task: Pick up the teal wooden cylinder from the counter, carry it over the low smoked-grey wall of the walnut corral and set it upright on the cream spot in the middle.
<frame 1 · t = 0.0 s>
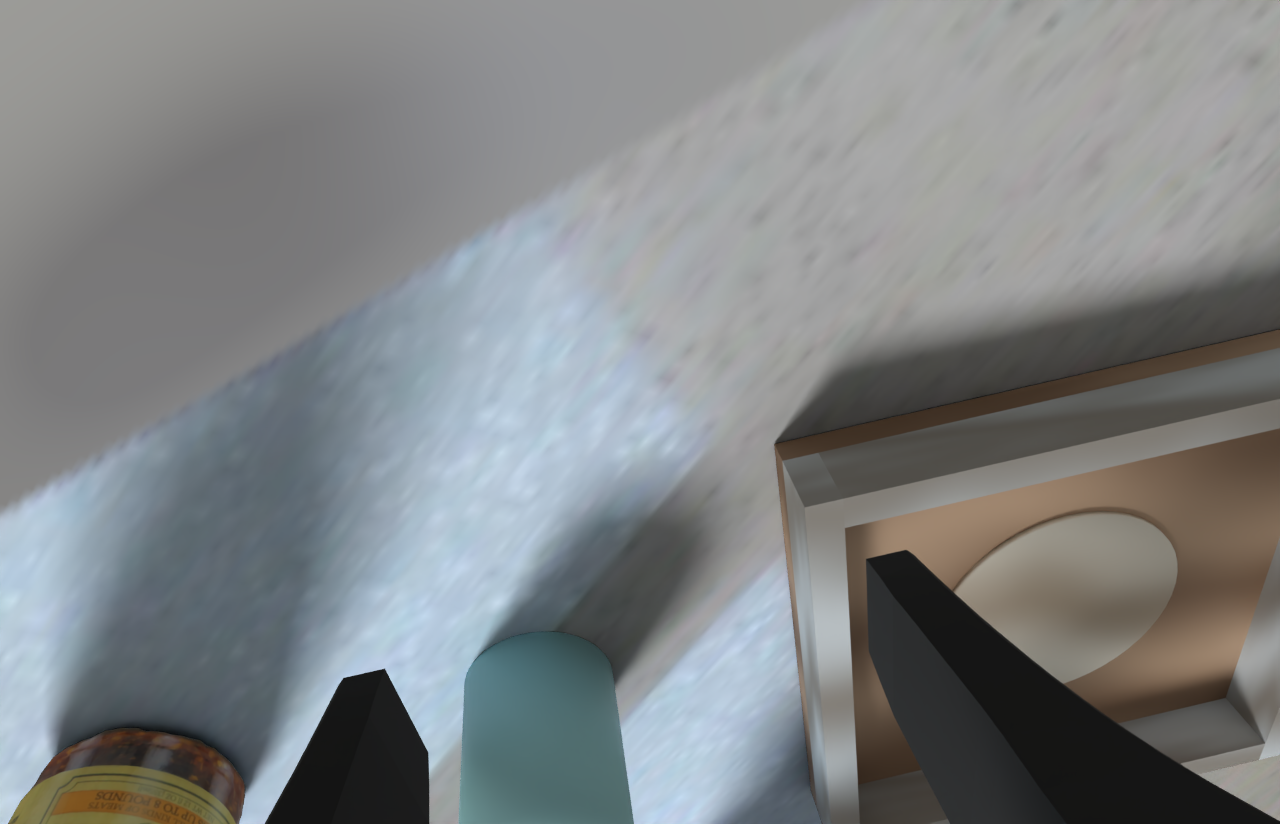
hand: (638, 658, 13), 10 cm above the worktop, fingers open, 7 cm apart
sauce bottle: (147, 770, 27), on the worktop
corral: (1041, 589, 28), on the worktop
teal cylinder: (539, 683, 28), on the worktop
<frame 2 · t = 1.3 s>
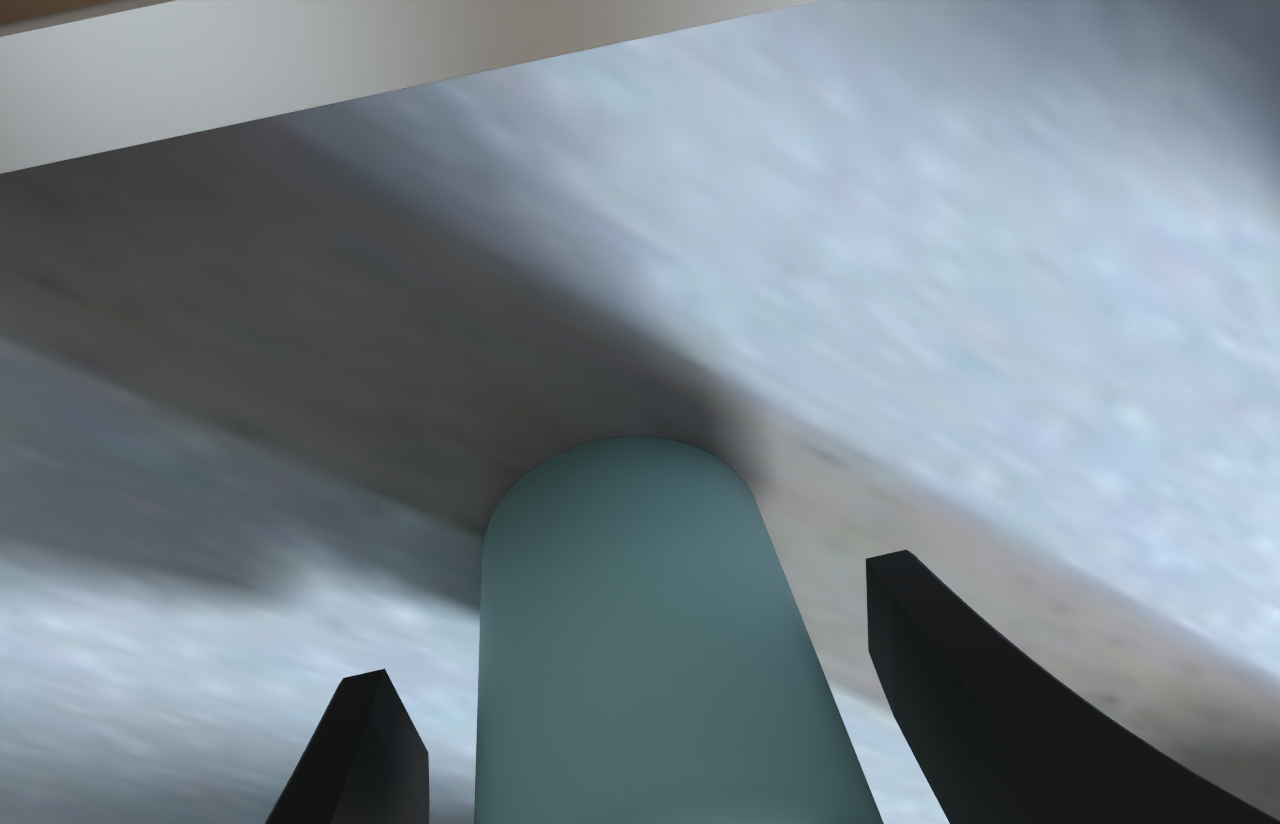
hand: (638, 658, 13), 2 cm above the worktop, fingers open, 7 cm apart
teal cylinder: (624, 552, 14), on the worktop
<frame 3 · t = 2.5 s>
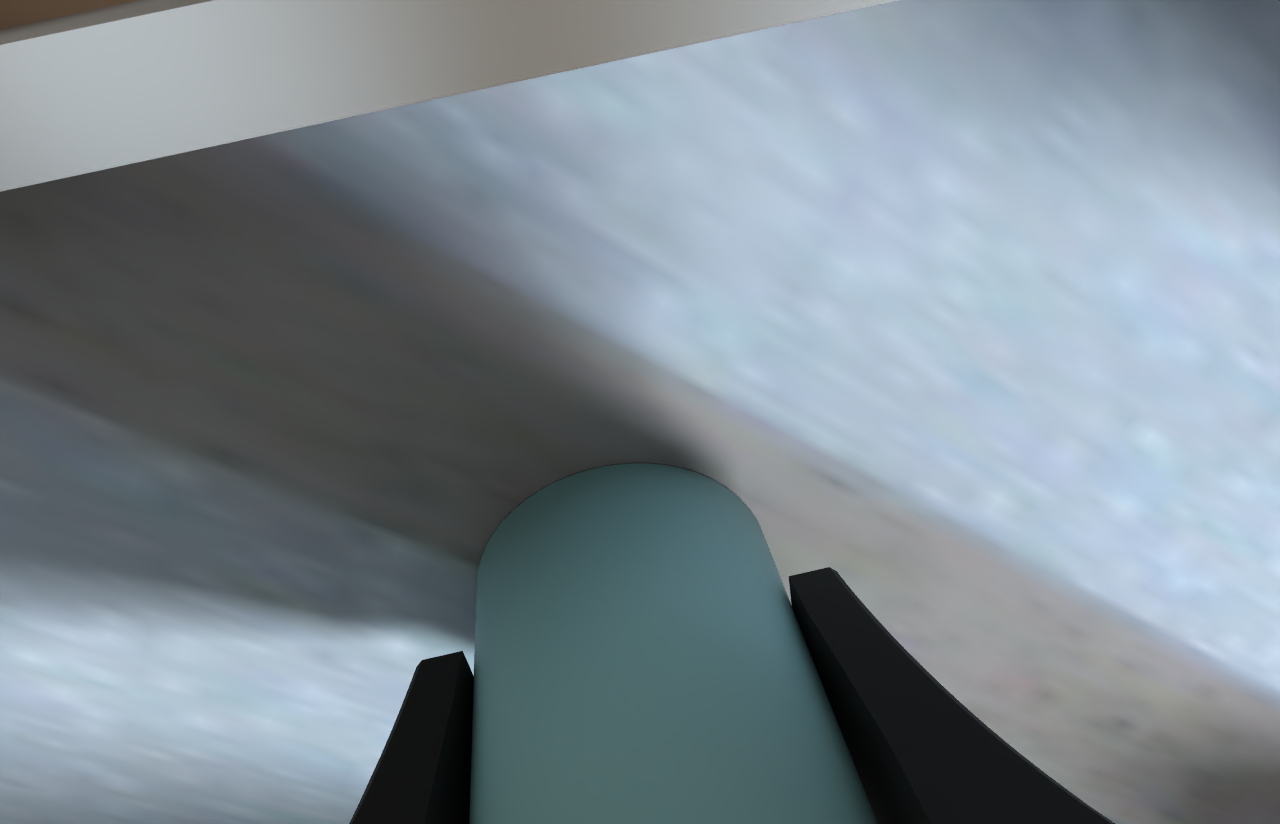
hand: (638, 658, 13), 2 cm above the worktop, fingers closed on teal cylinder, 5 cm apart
teal cylinder: (624, 581, 14), on the worktop, touching gripper
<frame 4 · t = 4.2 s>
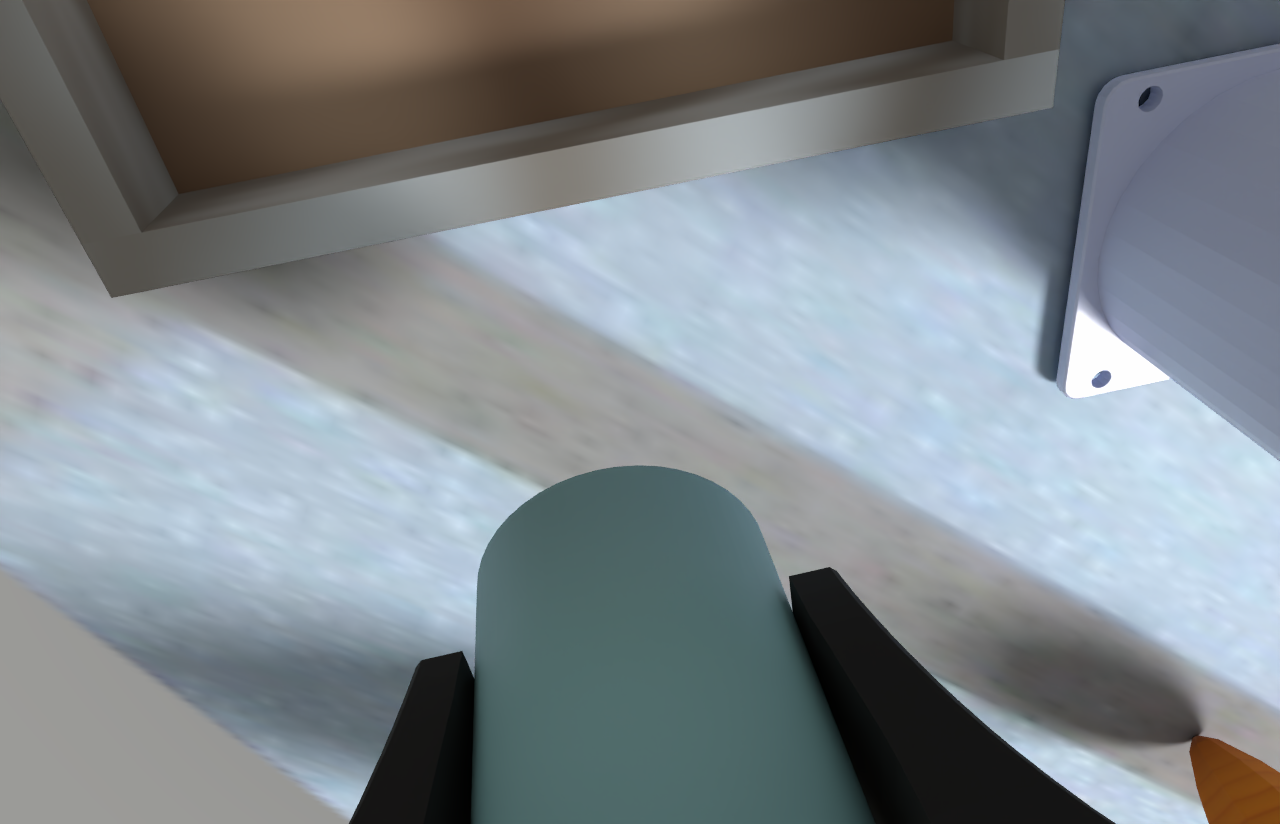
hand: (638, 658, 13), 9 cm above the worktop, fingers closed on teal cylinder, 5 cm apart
teal cylinder: (624, 582, 14), point 7 cm above the worktop, touching gripper
carrot: (1192, 733, 33), on the worktop
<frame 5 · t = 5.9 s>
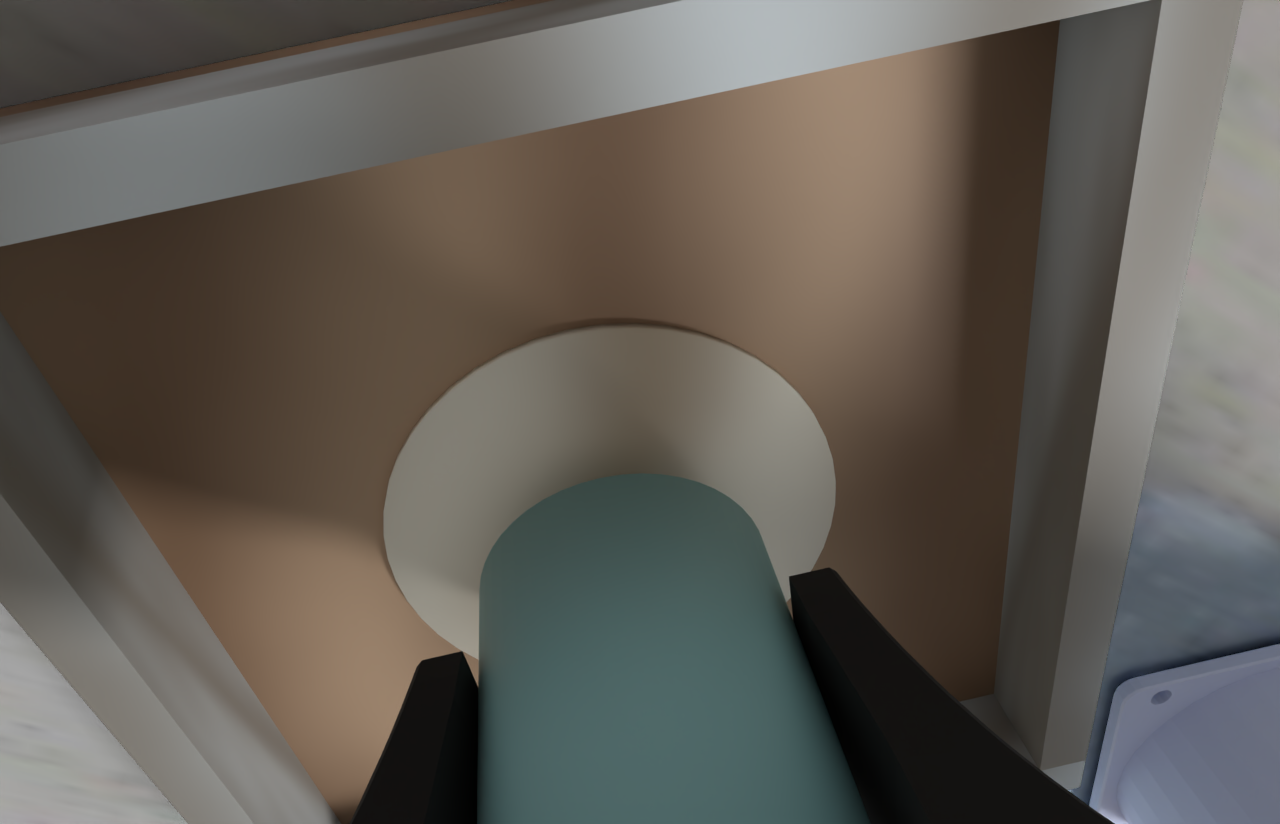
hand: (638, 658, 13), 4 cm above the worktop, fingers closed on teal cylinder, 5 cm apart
corral: (610, 495, 16), on the worktop
teal cylinder: (625, 586, 14), point 2 cm above the worktop, touching gripper
when the fingers open (4 cm above the worktop, at t = 6.9 s): teal cylinder stays where it is, resting on corral.
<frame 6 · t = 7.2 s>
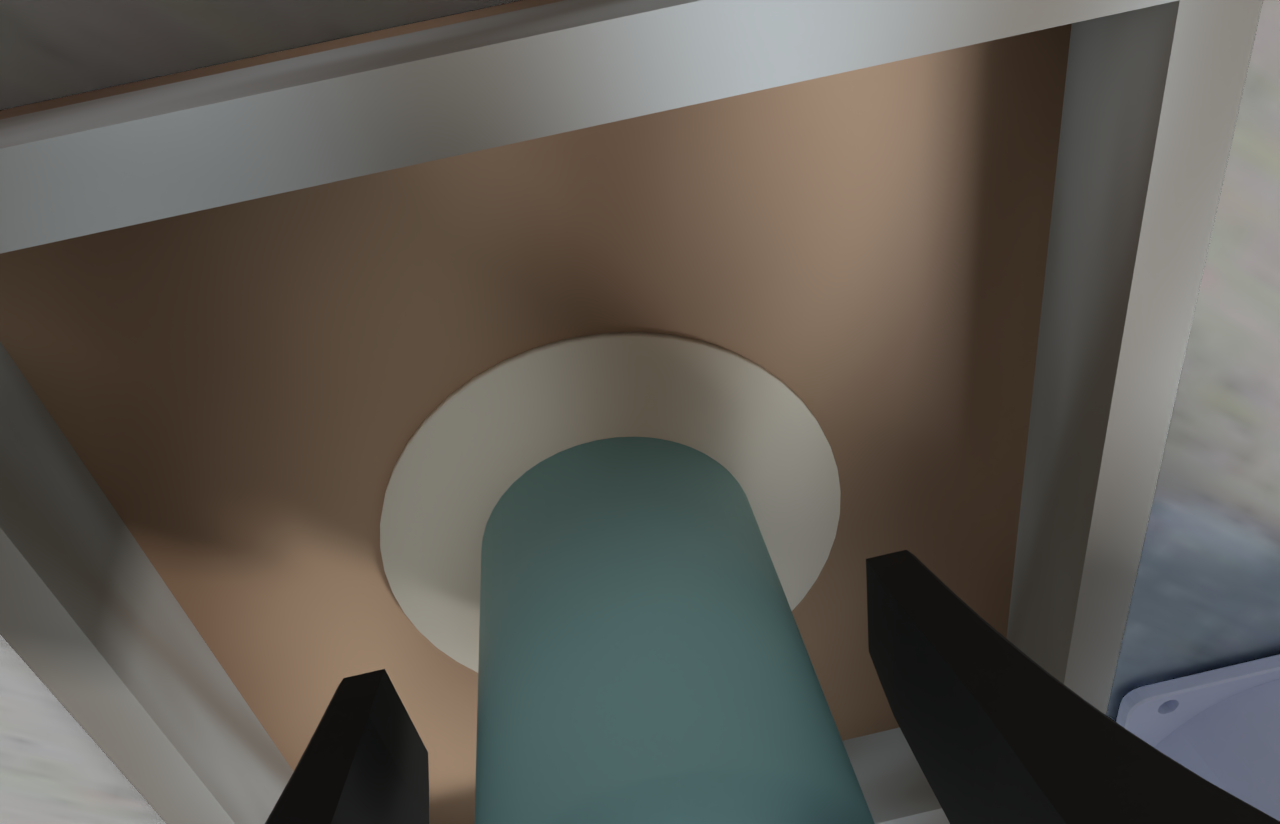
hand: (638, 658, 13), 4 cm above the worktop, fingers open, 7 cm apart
corral: (611, 505, 16), on the worktop
teal cylinder: (620, 549, 15), point 1 cm above the worktop, touching corral
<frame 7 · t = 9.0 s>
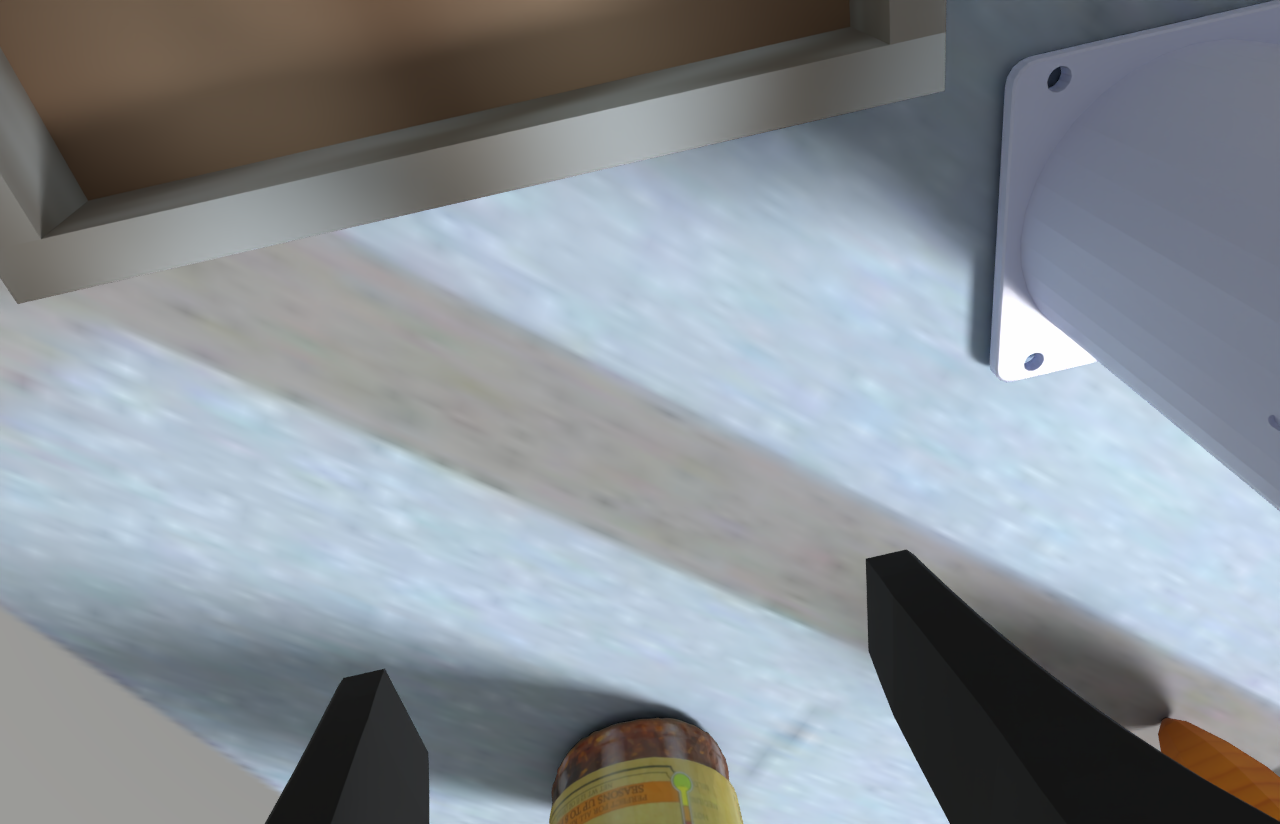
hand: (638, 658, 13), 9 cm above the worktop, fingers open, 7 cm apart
sauce bottle: (632, 761, 30), on the worktop
carrot: (1161, 715, 33), on the worktop
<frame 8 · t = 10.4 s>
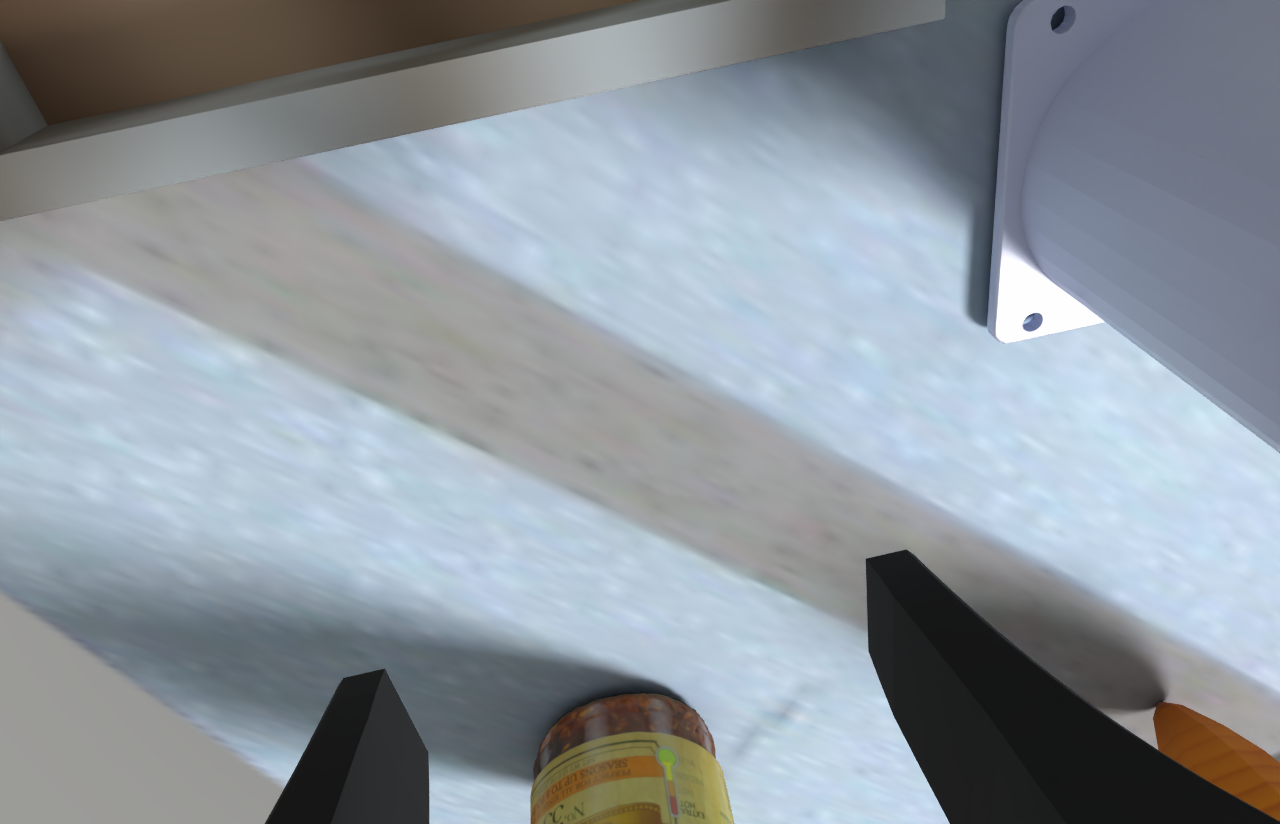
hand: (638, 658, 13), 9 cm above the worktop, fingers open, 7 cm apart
sauce bottle: (617, 739, 29), on the worktop
carrot: (1157, 699, 32), on the worktop
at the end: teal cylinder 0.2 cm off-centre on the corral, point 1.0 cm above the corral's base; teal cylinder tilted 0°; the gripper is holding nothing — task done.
